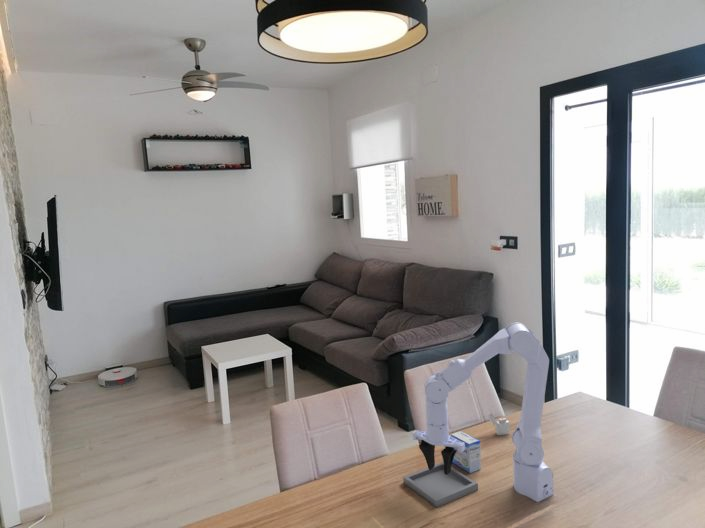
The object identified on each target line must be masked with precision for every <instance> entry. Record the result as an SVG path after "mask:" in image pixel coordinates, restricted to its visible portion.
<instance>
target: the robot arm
mask: <svg viewBox="0 0 705 528" xmlns="http://www.w3.org/2000/svg"><path fill="white" fill-rule="evenodd" d="M511 351H513V353H515V354H516V355H518V356H520V357H522V358H523V359H524V360H525V361H526V362H527V364H526V373H525V381H524V389H523V397H522V402H521V403H522V404H521V410H520V411H521V412H520V419H519V420H518V421H517V425H516V427H515V430H514V431H513V433H512V435H511V441H512V443H513V445H514V446H515V450H514V452H513V456H512V460H513V462H512V463H513V465H512V466H513V488H514V490H515V491H516V492H517V493H518V494H520V495H523V496H525V497H527V498H530V499H532V500H533V501H534V502H537V503H539V502H541V501H544V500H545V499H548V498H549V497H551V496H553V495H555V494H554V472H553V470H552V468H551V467H549V466H548V465H547V464H546V463H545V462H544V455H545V452H544V448H543V446H542V442H543V439H542V437H543V436H542V429H541V425H542V419H543V418H542V416H543V412H544V411H543V410H544V402H545V395H546V389H547V387H546V386H547V380H548V373H549V365H550V358H549V356H548V354H547V352H546V351H545V349H544V347H543V345H542V343H541V341H540V340H539V338H538V337H537V336H536V335H535V334H534V332H532V330H531V329H529V328H528V327H527V326H526V325H525V324H523V323H522V322H512V323H509V324H508V325H507V326H506V328H505V327H504V328H501V329H500V330H499V331H497V333H495V334H494V335H493V336H492V337H491V338H489V339H488V340H487V341H486V342H484V343H483V344H482V345H481V346H480V347H478V348H477V349H476V350H474V351H473V352H472V353H471V354H469V355H468V356H467V357H465V358H463V359H462V358H456V359H455V360H454V359H451V360H449V361H448V364H449V365H447V366H446V367H444V368H443V369H441V370H440V371H436V372H435V373H434V374H433V375H430V376H429V377H427V378H426V380H425V383H424V394H425V397H426V398H425V414H426V417H425V418H426V431H423V430H417V429H416V430H415V431H413V432H412V439H413V440H414V441H418V440H419V441H420V444H419V445H418V447H419V448H418V449H419V450H420V451H421V453H422V454H423V457H424V459H425V462H426V464H427V468H429V469H430V470H431V469H432V468H433V467H434V466H435V465H436V463H435V462H436V460H435V453H436V452H435V449H436V446H437V447H444V448H443V449H442V450H441V451H440V454H441V456H442V462H444V473H445V474H446V475H448V474H449V473H450V471H451V467H452V464H453V463H452V461H453V458H454V456H455V454H456V452H457V450H458V452H461V453H462V452H463V451H464V450H465V443H464V442H461V441H459V440H457V439H455V438H453V437H451V435H450V433H449V432H450V431H449V411H448V410H449V409H448V407H449V406H448V403H447V398H448V397H449V393H450V392H452V391H454V390H455V389H456V388H458V387H460V386H461V385H462V384H464V383H465V382H466V381H468V380H469V379H470V378H472V375H473V370H475V369H477V368H478V367H479V366H482V364H484V363H486V362H488V361H489V360H490V359H492V358H493V357H496V356H497V355H498V354H500V355H512V352H511Z"/></svg>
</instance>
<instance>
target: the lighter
mask: <svg viewBox="0 0 705 528" xmlns="http://www.w3.org/2000/svg"><path fill="white" fill-rule="evenodd" d="M486 415H487V418H488V419H489V421H490V423H491V424H492V425H493V426H495V434H496V435H497V436H505V435H510V434H511V432H510V431H511V429H510V423H511V422H510V421H509V420H508V419H507V418H505V417H502V418H501V417H499V418H498V421H497V419H496V418H495V416H494V414H493V413H492V411H488V412H487V413H486Z"/></svg>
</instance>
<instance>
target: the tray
mask: <svg viewBox="0 0 705 528" xmlns="http://www.w3.org/2000/svg"><path fill="white" fill-rule="evenodd" d="M402 480H403V484H405V486H407V487H408V488H409V489H411V490H412V491H414V492H415V493H416V494H418V495H419V496H420V497H421V498H423V499H424V500H425V501H427V502H428V503H430V505H432V506H433V507H435V508H439V507H442V506H445V505H446V504H449V503H451V502H453V501H455V500H458V499H460V498H462V497H465V496H467V495H469V494H472V493H474V492H476V491H479V483H478V482H477V481H475V480H473V479H472V478H470V477H468V476H467V475H465V474H464V473H462V472H460V471H459V470H457V469H456V468H454V467H452V466H451V471H450V473H449V474H448V475H446V474H445V473H444V462H443V461H442V462H441V461H440V462H439V463H435V466H434V467H433V468H432V469H431V470H430V469H429V468H428V467H426V468H424V469H420V470H418V471H416V472H412V473H410V474H408V475H404V476H403V479H402Z"/></svg>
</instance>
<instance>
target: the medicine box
mask: <svg viewBox="0 0 705 528" xmlns="http://www.w3.org/2000/svg"><path fill="white" fill-rule="evenodd" d="M450 436H451V437H453V438H455V439H457V440H459V441H461V442H464V443H465V450H464V451H463V452H462V453H461V452H458V450H457V452H456V454H455V456H454V458H453V461H452V464H454V465H456V466H457V467H459V468H460V469H463V471H466V472H467V473H469V474H472V473H474V472H478V471H479V470H481V469H482V456H481V440H480V439H477V438H475V437H473V436H472V435H469V434H467V433H465V432H463V430H462V431H457V432H454V433H451V434H450Z"/></svg>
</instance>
